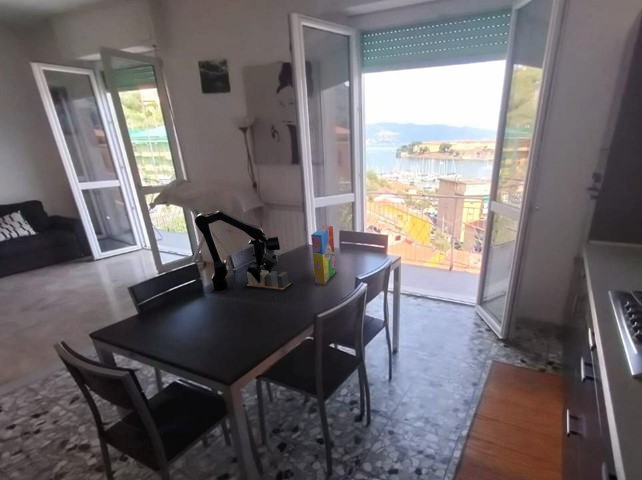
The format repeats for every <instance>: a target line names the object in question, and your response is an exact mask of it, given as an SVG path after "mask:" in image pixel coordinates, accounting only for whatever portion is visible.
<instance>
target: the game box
mask: <svg viewBox="0 0 642 480" xmlns="http://www.w3.org/2000/svg"><path fill="white" fill-rule="evenodd" d="M310 238H311V247H312V248H311V249H312V259H313V260H312V261H313V270H314V271H313V272H314V274H313V275H314V283H315V284H317V285H318V284H321V285H323V286H326V284H328V282H329V279H330V278H331V277H333V276H334V275H335V274H336V271H337V270H336V255H335V241H334V240H335V239H334V227H333V225H323V226H322V227H321V228H319V229H317V230H316V231H315V232H313V233H311V234H310Z"/></svg>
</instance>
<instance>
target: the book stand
mask: <svg viewBox="0 0 642 480" xmlns="http://www.w3.org/2000/svg"><path fill="white" fill-rule="evenodd" d="M264 280H265V286H259V285H250V284H249V283H247V284H246V286H248V287H255V288H256V287H257V288H265V289H274V290H275V289H276V290H285V289H286V288H287V287H288V286H290V285H291V284H292V282H289V284H288V285H287V286H285V287H284V288H278V283H277V284H276V285H274V286H273V287H268V286H267V279H266V276H265V277H264Z"/></svg>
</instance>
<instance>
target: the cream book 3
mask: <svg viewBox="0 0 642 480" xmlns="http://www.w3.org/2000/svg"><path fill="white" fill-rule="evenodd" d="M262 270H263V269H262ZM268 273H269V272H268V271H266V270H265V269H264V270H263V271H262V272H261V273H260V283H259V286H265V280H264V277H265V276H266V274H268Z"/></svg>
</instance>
